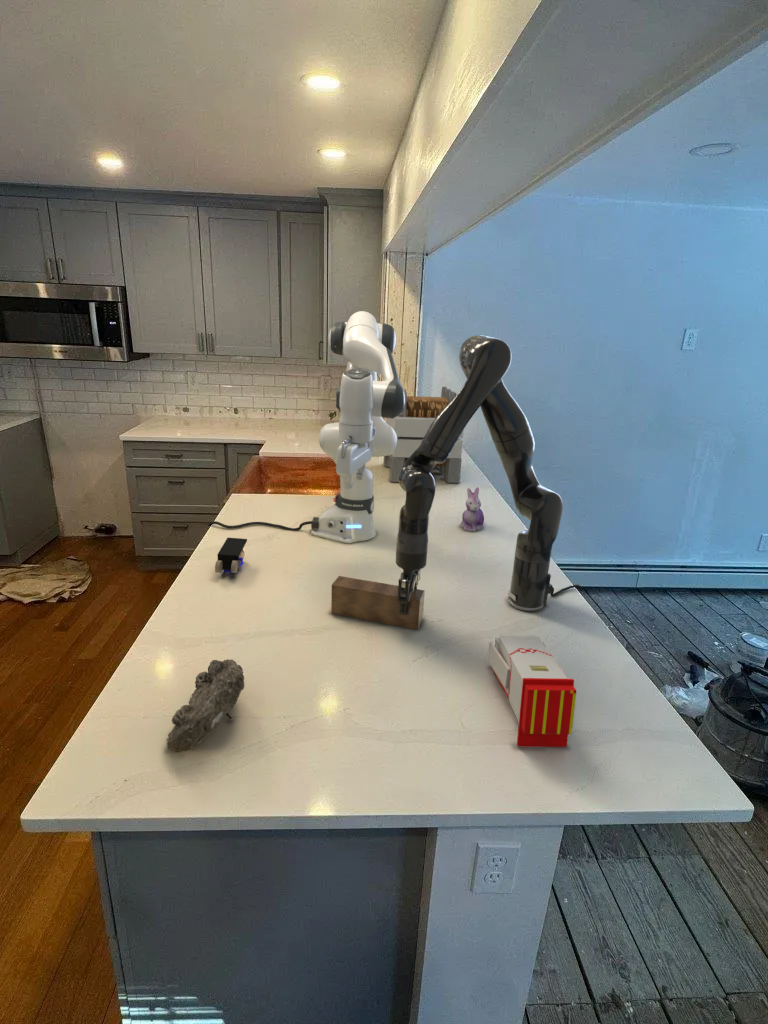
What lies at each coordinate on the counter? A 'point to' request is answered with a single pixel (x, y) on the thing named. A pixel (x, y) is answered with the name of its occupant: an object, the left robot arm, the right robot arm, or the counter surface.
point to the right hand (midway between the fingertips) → (407, 606)
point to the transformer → (421, 434)
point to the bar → (375, 602)
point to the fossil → (206, 705)
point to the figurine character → (230, 556)
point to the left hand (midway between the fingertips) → (354, 483)
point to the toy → (534, 690)
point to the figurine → (473, 512)
